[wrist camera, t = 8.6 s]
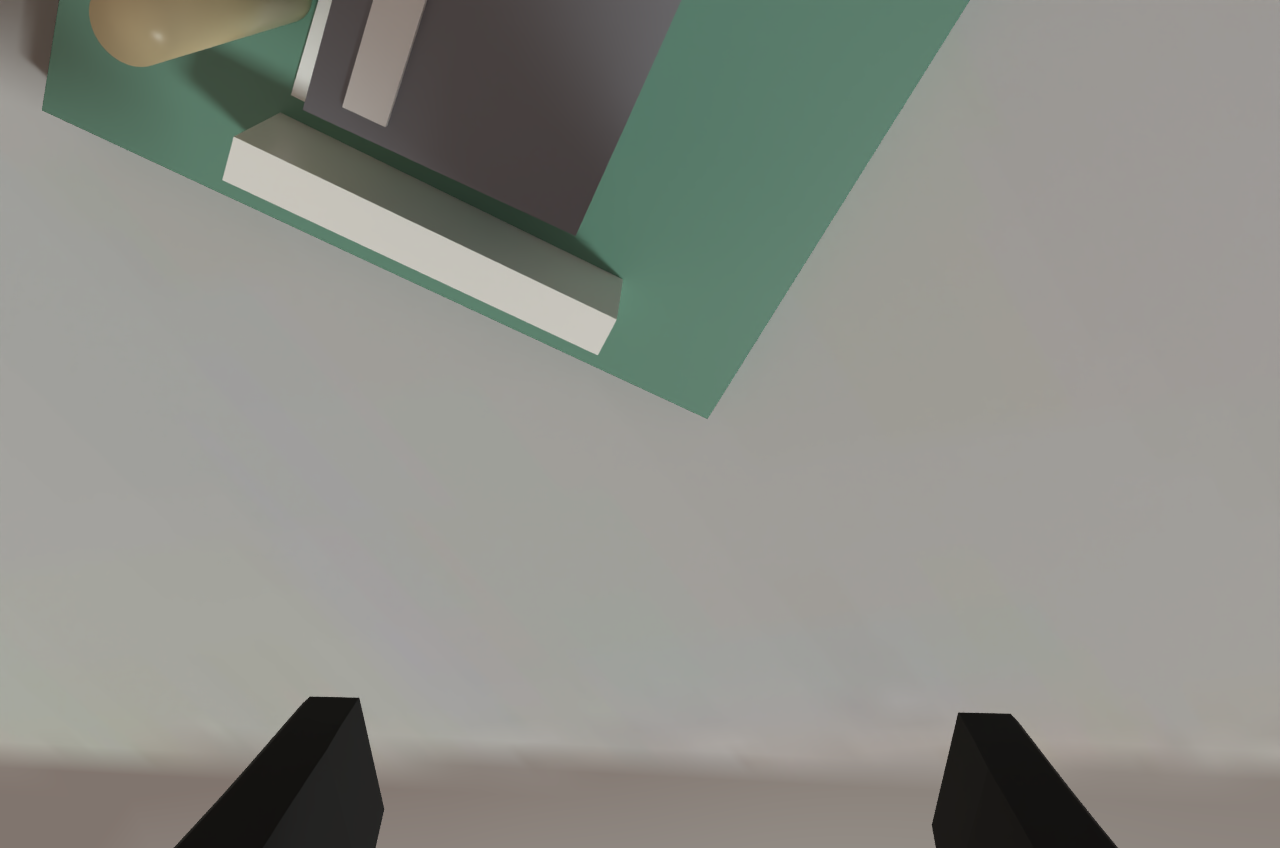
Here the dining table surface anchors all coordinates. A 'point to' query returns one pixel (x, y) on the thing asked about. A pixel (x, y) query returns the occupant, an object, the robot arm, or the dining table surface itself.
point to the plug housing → (493, 89)
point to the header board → (502, 235)
